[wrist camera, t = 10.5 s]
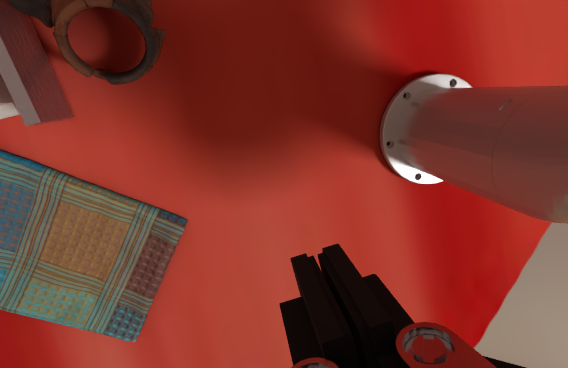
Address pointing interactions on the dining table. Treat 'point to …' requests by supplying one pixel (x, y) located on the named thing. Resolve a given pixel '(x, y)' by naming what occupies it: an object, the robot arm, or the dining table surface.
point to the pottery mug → (67, 3)
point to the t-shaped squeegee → (29, 70)
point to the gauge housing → (6, 102)
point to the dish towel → (79, 250)
